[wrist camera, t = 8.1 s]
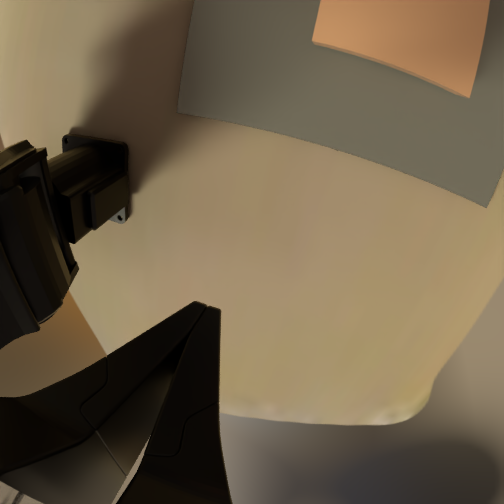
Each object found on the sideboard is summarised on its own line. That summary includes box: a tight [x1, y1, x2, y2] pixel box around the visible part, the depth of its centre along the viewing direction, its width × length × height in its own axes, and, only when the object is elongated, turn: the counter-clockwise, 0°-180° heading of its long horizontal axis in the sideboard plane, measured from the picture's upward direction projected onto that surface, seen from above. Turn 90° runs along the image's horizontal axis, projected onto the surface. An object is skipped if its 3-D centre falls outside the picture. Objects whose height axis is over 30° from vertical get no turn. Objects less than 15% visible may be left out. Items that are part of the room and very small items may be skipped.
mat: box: [177, 0, 504, 208], centre depth 12 cm, size 20×18×1 cm
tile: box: [312, 0, 490, 98], centre depth 11 cm, size 2×7×8 cm
